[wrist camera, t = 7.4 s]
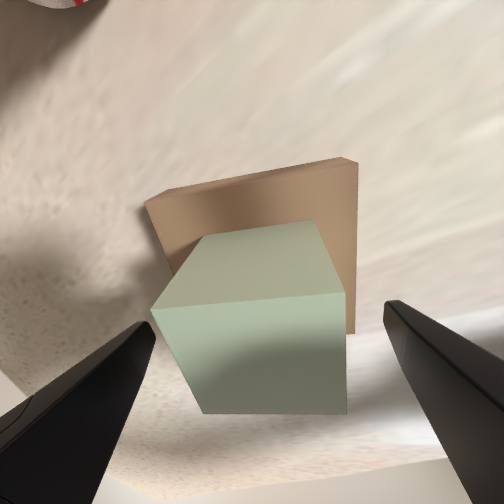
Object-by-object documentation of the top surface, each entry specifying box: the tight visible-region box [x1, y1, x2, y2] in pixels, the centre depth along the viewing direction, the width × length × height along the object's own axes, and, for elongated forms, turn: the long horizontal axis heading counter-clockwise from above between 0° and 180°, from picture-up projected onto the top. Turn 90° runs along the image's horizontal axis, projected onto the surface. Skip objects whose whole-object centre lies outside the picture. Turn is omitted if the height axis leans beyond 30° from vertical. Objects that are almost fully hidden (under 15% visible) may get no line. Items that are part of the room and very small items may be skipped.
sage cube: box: [150, 219, 347, 414], centre depth 9 cm, size 5×5×5 cm
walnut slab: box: [144, 157, 358, 334], centre depth 12 cm, size 9×9×3 cm
